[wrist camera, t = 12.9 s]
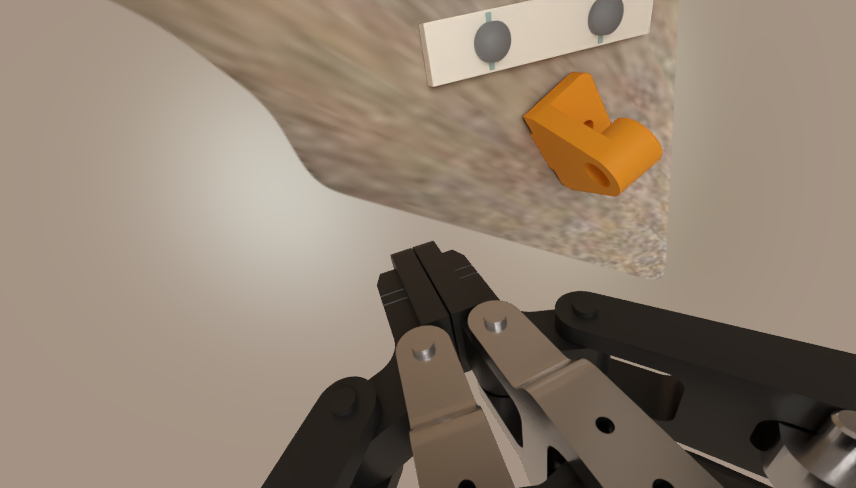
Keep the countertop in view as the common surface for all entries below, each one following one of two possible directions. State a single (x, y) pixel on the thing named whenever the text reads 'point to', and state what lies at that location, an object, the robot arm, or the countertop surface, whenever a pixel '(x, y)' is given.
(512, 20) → the board
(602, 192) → the bracket
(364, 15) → the countertop surface
